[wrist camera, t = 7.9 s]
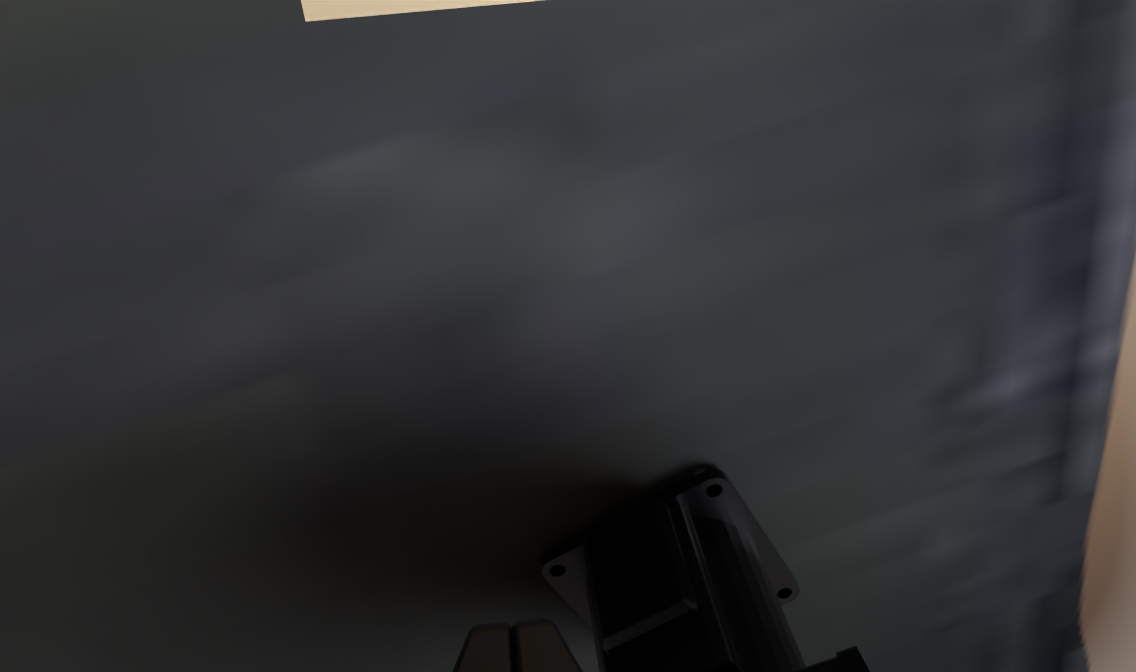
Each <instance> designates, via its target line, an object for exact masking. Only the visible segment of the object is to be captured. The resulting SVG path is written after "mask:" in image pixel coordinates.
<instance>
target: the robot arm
mask: <svg viewBox="0 0 1136 672" xmlns="http://www.w3.org/2000/svg"><path fill="white" fill-rule="evenodd" d="M714 484H718V485H717V486H716V487H714V488H708V487H709V486H710V485H714ZM555 565H561V566H559V567H553V566H555ZM541 571H542V575H543V577H544V578H545V579H546V580H547V581H548V583H549V584H550V585H551V586H552V587H553V588H554V589H555V590H556V591H557V592H558V593H559V594H560V596H561V597H562V598H563V599H564V600H565V601H566V602H567V603H568V604H569V605H570V606H571V607H572V608H573V610H574V611H575V612H576V613H577V614H578V615H579V616H580V617H581V618H582V619H583V620H584V621H585V623H586V624H587V625H588V626H589V627H590V628H591V629H592V630H593V635H594V642H595V648H596V654H597V660H598V666H599V672H870V671H869V669H868V667H867V665H866V664H865V662H864V660H863V658H862V656H861V654H860V652H859V651H858V649H857V647H856V646H854V647H851V648H848V649H845V650H842V651H839V652H837V653H836V654H837V656H836V657H834V658H831V659H828V660H825V661H822V662H819V663H816V664H813V665H811V666H808V667H806V665H805V663H804V660H803V658H802V656H801V653H800V651H799V648H798V646H797V643H796V641H795V639H794V636H793V634H792V631H791V629H790V627H789V624H788V622H787V619H786V617H785V614H784V612H783V610H782V607H781V606H782V605H784V604H787V603H789V602H791V601H792V600H794V599H795V598H796V597H797V596H798V594H799V588H798V585H797V583H796V581H795V578H794V577H793V575H792V574H791V572H790V571H789V569H788V568H787V566H786V565H785V563H784V562H783V560H782V559H781V557H780V556H779V554H778V553H777V551H776V550H775V548H774V547H773V545H772V544H771V542H770V541H769V539H768V537H767V536H766V534H765V533H764V531H763V530H762V528H761V527H760V525H759V524H758V522H757V521H756V519H755V518H754V516H753V515H752V513H751V512H750V510H749V509H748V507H747V506H746V504H745V503H744V501H743V500H742V498H741V497H740V495H739V494H738V492H737V491H736V489H735V488H734V486H733V485H732V483H731V482H730V480H729V479H728V477H727V476H726V474H725V473H723V472H722V471H720V470H717V469H710V470H707V471H704V472H702V473H700V474H698V475H696V476H694V477H692V478H690V479H688V480H687V481H685V482H683V483H681V484H679V485H677V486H675V487H673V488H671V489H669V490H667V491H665V492H663V493H661V494H659V495H657V496H656V497H654V498H652V499H650V500H648V501H646V502H644V503H642V504H640V505H638V506H636V507H634V508H632V509H630V510H628V511H626V512H625V513H623V514H621V515H619V516H617V517H615V518H613V519H611V520H609V521H607V522H605V523H603V524H601V525H599V526H597V527H595V528H594V529H592V530H590V531H588V532H586V533H584V534H582V535H580V536H578V537H576V538H574V539H572V540H570V541H568V542H566V543H565V544H563V545H561V546H559V547H557V548H555V549H553V550H551V551H549V552H547V553H546V554H545V555H543V557H542V559H541ZM783 588H784V589H783ZM512 636H513V643H512ZM513 652H514V657H513ZM514 668H515V672H583V671H582V669H581V668H580V666H579V664H578V663H577V661H576V659H575V657H574V656H573V654H572V652H571V651H570V649H569V647H568V645H567V644H566V642H565V640H564V639H563V637H562V635H561V634H560V632H559V630H558V628H557V627H556V625H555V624H554V623H553V622H552V621H551V620H550V619H548V618H541V619H531V620H521V621H517V622H515V623H514V625H513V626H512V629H511V626H510V625H509V624H508V623H505V622H500V623H490V624H480V625H475V626H473V627H472V628H471V629H470V631H469V632H468V634H467V637H466V639H465V642H464V644H463V647H462V649H461V652H460V654H459V657H458V659H457V662H456V664H455V667H454V669H453V671H452V672H514Z"/></svg>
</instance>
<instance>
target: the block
mask: <svg viewBox="0 0 1136 672" xmlns="http://www.w3.org/2000/svg"><path fill="white" fill-rule="evenodd" d="M530 1H541V0H301V3H302V7H303V12H304V16H305V21H318V20H329V19H340V18H351V17H362V16H373V15H385V14H396V13H407V12H418V11H429V10H440V9H452V8H463V7H474V6H485V5H496V4H507V3H519V2H530Z"/></svg>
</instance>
